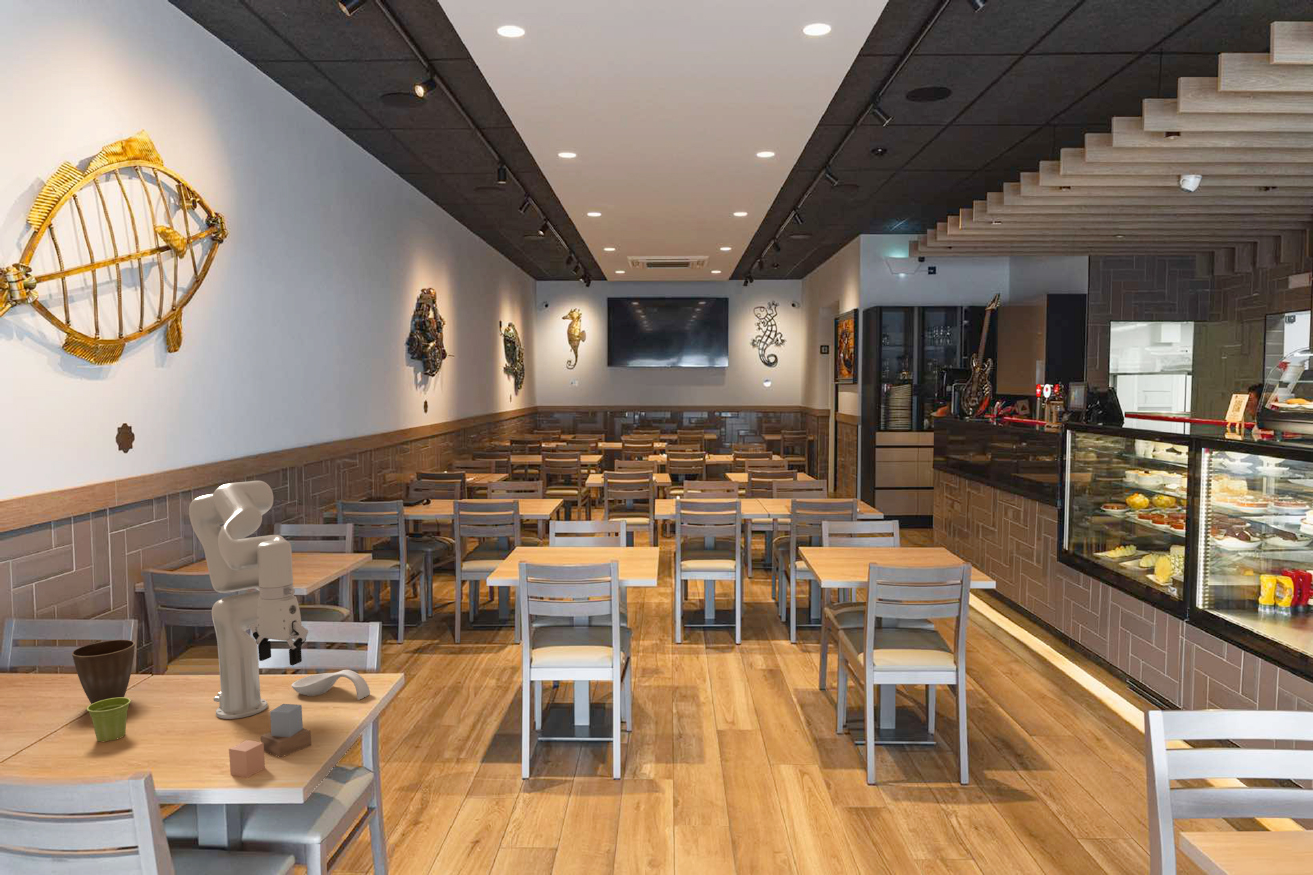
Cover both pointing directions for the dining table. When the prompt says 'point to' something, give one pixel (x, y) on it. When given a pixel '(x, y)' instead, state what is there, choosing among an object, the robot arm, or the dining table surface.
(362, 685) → the spoon rest
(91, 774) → the dining table surface
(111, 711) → the plant pot
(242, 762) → the terracotta block
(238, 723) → the dining table surface
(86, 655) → the plant pot
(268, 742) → the walnut base
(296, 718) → the slate block
